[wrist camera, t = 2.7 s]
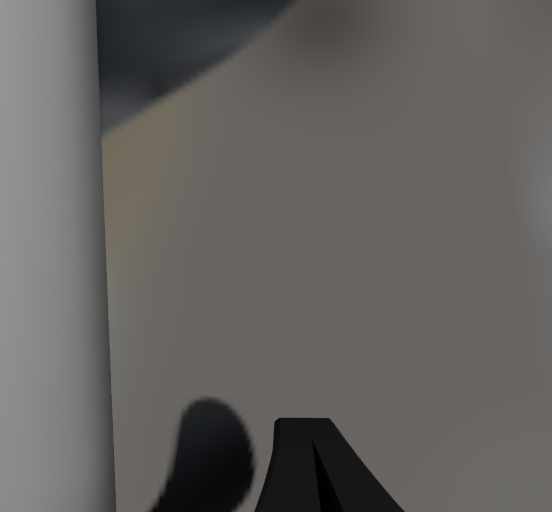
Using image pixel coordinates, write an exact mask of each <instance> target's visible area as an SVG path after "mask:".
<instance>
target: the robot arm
mask: <svg viewBox="0 0 552 512" xmlns="http://www.w3.org/2000/svg"><path fill="white" fill-rule="evenodd" d="M274 423H275V424H274V440H273V451H272V456H271V460H270V464H269V468H268V472H267V475H266V479H265V482H264V486H263V489H262V492H261V495H260V497H259V500H258V503H257V506H256V509H255V511H254V512H404V511H403V509H402V508H401V507H400V506H399V505H398V504H397V503H396V502H395V500H394V499H393V498H392V497H391V496H390V495H389V494H388V492H387V491H386V490H385V489H384V488H383V486H382V485H381V484H380V483H379V482H378V480H377V479H376V478H375V477H374V476H373V474H372V473H371V472H370V471H369V469H368V468H367V467H366V466H365V465H364V463H363V462H362V461H361V459H360V458H359V457H358V456H357V454H356V453H355V452H354V450H353V449H352V448H351V446H350V445H349V444H348V442H347V441H346V440H345V438H344V437H343V436H342V434H341V433H340V431H339V430H338V429H337V427H336V426H335V424H334V423H333V422H332V421H331V420H330V419H329V418H278V419H277V420H276V421H275V422H274Z"/></svg>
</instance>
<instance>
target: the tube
mask: <svg viewBox="0 0 552 512" xmlns="http://www.w3.org/2000/svg"><path fill="white" fill-rule="evenodd" d="M102 174H103V173H102V148H101V124H100V99H99V74H98V50H97V25H96V0H0V512H116V494H115V471H114V445H113V420H112V396H111V371H110V348H109V347H110V346H109V321H108V298H107V274H106V273H107V272H106V249H105V223H104V198H103V175H102Z"/></svg>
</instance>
